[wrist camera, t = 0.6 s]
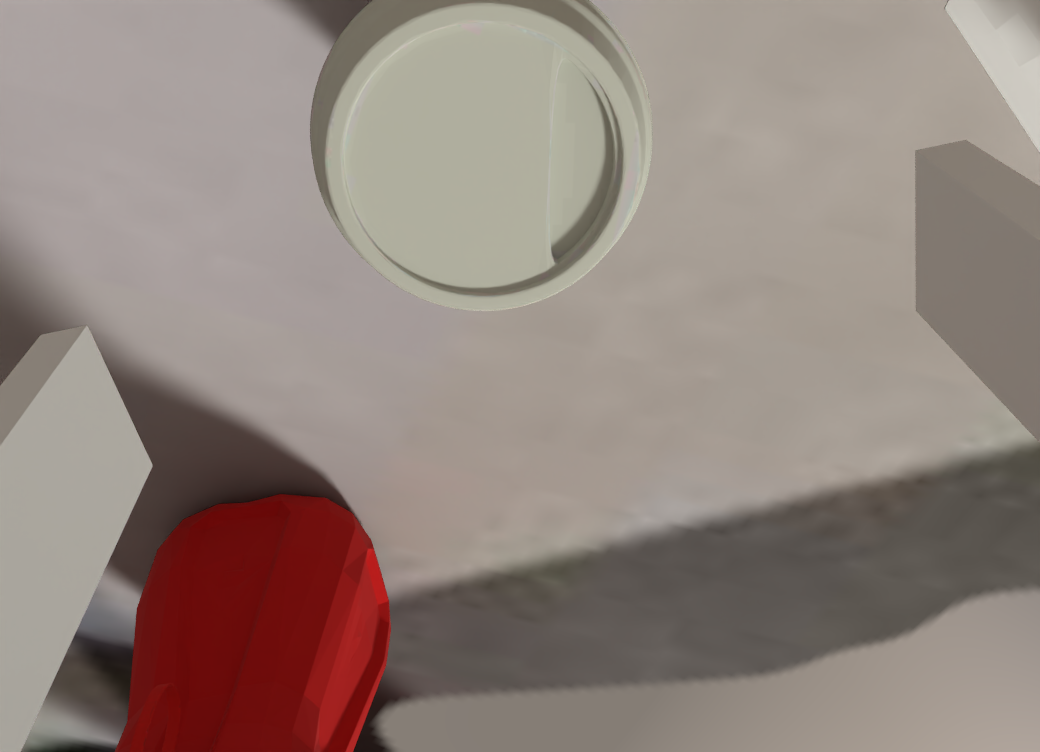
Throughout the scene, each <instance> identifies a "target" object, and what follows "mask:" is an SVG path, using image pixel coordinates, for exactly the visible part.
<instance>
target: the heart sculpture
mask: <svg viewBox="0 0 1040 752" xmlns="http://www.w3.org/2000/svg"><path fill="white" fill-rule="evenodd" d="M945 9H946V11H947V13H948V14H949V16H950V17H951V19H952V20H953V22H954V23H955V25H956V26H957V28H958V29H959V31H960V32H961V34H962V35H963V37H964V38H965V40H966V41H967V43H968V44H969V46H970V48H971V49H972V51H973V52H974V54H975V55H976V57H977V58H978V60H979V61H980V63H981V64H982V66H983V67H984V69H985V70H986V72H987V73H988V75H989V76H990V78H991V79H992V81H993V82H994V84H995V86H996V87H997V89H998V90H999V92H1000V93H1001V95H1002V96H1003V98H1004V99H1005V101H1006V102H1007V104H1008V105H1009V107H1010V108H1011V110H1012V111H1013V113H1014V114H1015V116H1016V117H1017V119H1018V120H1019V122H1020V124H1021V125H1022V127H1023V128H1024V130H1025V131H1026V133H1027V134H1028V136H1029V137H1030V139H1031V140H1032V142H1033V143H1034V145H1035V146H1036V148H1037V149H1038V151H1039V152H1040V0H949V1H948V3H947V5H946V7H945Z"/></svg>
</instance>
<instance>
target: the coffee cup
mask: <svg viewBox="0 0 1040 752" xmlns="http://www.w3.org/2000/svg"><path fill="white" fill-rule="evenodd" d="M310 140H311V151H312V158H313V164H314V170H315V174H316V179H317V182H318V186H319V189H320V192H321V195H322V197H323V200H324V203H325V205H326V207H327V209H328V211H329V213H330V215H331V217H332V219H333V221H334V222H335V224H336V226H337V227H338V229H339V230H340V232H341V233H342V235H343V236H344V237H345V239H346V240H347V241H348V243H349V244H350V245H351V246H352V247H353V249H354V250H355V251H356V252H357V253H358V254H359V255H360V256H361V257H362V258H363V259H364V260H365V261H366V262H367V263H368V264H370V265H371V266H372V267H373V268H374V269H375V270H376V271H377V272H379V273H380V274H381V275H382V276H384V277H385V278H386V279H387V280H389V281H390V282H392V283H393V284H395V285H396V286H398V287H399V288H401V289H402V290H404V291H406V292H408V293H410V294H413V295H415V296H417V297H419V298H421V299H423V300H426V301H429V302H432V303H435V304H438V305H441V306H446V307H451V308H455V309H461V310H474V311H495V310H504V309H511V308H517V307H521V306H524V305H528V304H532V303H535V302H538V301H540V300H543V299H546V298H548V297H550V296H552V295H554V294H556V293H559V292H560V291H562V290H564V289H565V288H567V287H569V286H570V285H572V284H573V283H575V282H576V281H578V280H579V279H580V278H582V277H583V276H584V275H585V274H586V273H588V272H589V271H590V270H591V269H592V268H593V267H594V266H595V265H597V264H598V262H599V261H600V260H601V259H602V258H603V257H604V256H605V255H606V254H607V253H608V251H609V250H610V249H611V248H612V247H613V246H614V244H615V243H616V242H617V241H618V239H619V238H620V237H621V235H622V234H623V232H624V231H625V229H626V228H627V226H628V224H629V223H630V221H631V219H632V217H633V216H634V214H635V212H636V210H637V207H638V205H639V202H640V200H641V198H642V195H643V192H644V189H645V186H646V182H647V178H648V173H649V168H650V162H651V153H652V115H651V107H650V101H649V96H648V92H647V88H646V84H645V81H644V78H643V75H642V73H641V70H640V68H639V65H638V63H637V61H636V59H635V57H634V55H633V53H632V51H631V49H630V47H629V46H628V44H627V42H626V41H625V39H624V38H623V36H622V35H621V34H620V32H619V31H618V30H617V28H616V27H615V26H614V25H613V23H612V22H611V21H610V20H609V19H608V18H607V17H606V16H605V15H604V14H603V13H602V12H601V11H600V10H599V9H598V8H597V7H596V6H595V5H594V4H593V3H592V2H590V1H589V0H372V1H371V2H370V3H369V4H368V5H366V6H365V7H364V8H363V9H362V10H361V11H360V12H359V13H358V14H357V15H356V16H355V17H354V18H353V19H352V21H351V22H350V23H349V24H348V25H347V27H346V28H345V29H344V30H343V32H342V33H341V35H340V36H339V38H338V39H337V41H336V42H335V44H334V45H333V47H332V49H331V51H330V53H329V55H328V56H327V59H326V61H325V63H324V65H323V68H322V70H321V73H320V76H319V79H318V82H317V85H316V89H315V93H314V98H313V103H312V110H311V121H310Z"/></svg>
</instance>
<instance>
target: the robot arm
mask: <svg viewBox="0 0 1040 752" xmlns="http://www.w3.org/2000/svg"><path fill="white" fill-rule="evenodd" d="M915 189H916V311H917V312H918V313H919V314H920V316H921V317H922V318H923V319H924V320H925V321H926V322H927V323H928V324H929V325H930V326H931V327H932V328H933V329H934V330H935V332H936V333H937V334H938V335H939V336H940V337H941V338H942V339H943V340H944V341H945V342H946V343H947V344H948V345H949V346H950V348H951V349H952V350H953V351H954V352H955V353H956V354H957V355H958V356H959V357H960V358H961V359H962V360H963V361H964V362H965V364H966V365H967V366H968V367H969V368H970V369H971V370H972V371H973V372H974V373H975V374H976V375H977V376H978V377H979V378H980V380H981V381H982V382H983V383H984V384H985V385H986V386H987V387H988V388H989V389H990V390H991V391H992V392H993V393H994V394H995V395H996V397H997V398H998V399H999V400H1000V401H1001V402H1002V403H1003V404H1004V405H1005V406H1006V407H1007V408H1008V409H1009V410H1010V411H1011V413H1012V414H1013V415H1014V416H1015V417H1016V418H1017V419H1018V420H1019V421H1020V422H1021V423H1022V424H1023V425H1024V426H1025V427H1026V429H1027V430H1028V431H1029V432H1030V433H1031V434H1032V435H1033V436H1034V437H1035V438H1036V439H1037V440H1038V441H1039V442H1040V186H1038V185H1037V184H1035V183H1033V182H1032V181H1030V180H1029V179H1027V178H1025V177H1024V176H1022V175H1021V174H1019V173H1018V172H1016V171H1014V170H1013V169H1011V168H1010V167H1008V166H1006V165H1005V164H1003V163H1002V162H1000V161H998V160H997V159H995V158H994V157H992V156H991V155H989V154H987V153H986V152H984V151H983V150H981V149H979V148H978V147H976V146H975V145H973V144H971V143H970V142H968V141H967V140H963V141H958V142H953V143H949V144H944V145H939V146H934V147H930V148H925V149H920V150H915ZM152 466H153V465H152V463H151V461H150V458H149V456H148V454H147V452H146V450H145V448H144V446H143V443H142V441H141V439H140V437H139V435H138V433H137V431H136V428H135V426H134V424H133V422H132V420H131V418H130V416H129V413H128V411H127V409H126V407H125V405H124V403H123V401H122V399H121V396H120V394H119V392H118V390H117V388H116V386H115V384H114V381H113V379H112V377H111V375H110V373H109V371H108V369H107V366H106V364H105V362H104V360H103V358H102V356H101V354H100V351H99V349H98V347H97V345H96V343H95V341H94V339H93V336H92V334H91V332H90V330H89V328H88V326H87V325H85V326H80V327H75V328H71V329H66V330H61V331H56V332H52V333H47V334H42V335H40V336H39V338H38V339H37V340H36V341H35V343H34V344H33V345H32V346H31V348H30V349H29V350H28V352H27V353H26V354H25V355H24V357H23V358H22V359H21V360H20V362H19V363H18V364H17V365H16V367H15V368H14V369H13V370H12V372H11V373H10V374H9V375H8V377H7V378H6V379H5V380H4V382H3V383H2V384H1V385H0V752H21V750H22V748H23V746H24V743H25V741H26V739H27V737H28V735H29V733H30V730H31V728H32V726H33V724H34V722H35V720H36V717H37V715H38V713H39V711H40V709H41V707H42V704H43V702H44V700H45V698H46V696H47V694H48V691H49V689H50V687H51V685H52V683H53V681H54V678H55V676H56V674H57V672H58V670H59V668H60V665H61V663H62V661H63V659H64V657H65V655H66V653H67V650H68V648H69V646H70V644H71V642H72V640H73V637H74V635H75V633H76V631H77V629H78V627H79V624H80V622H81V620H82V618H83V616H84V614H85V611H86V609H87V607H88V605H89V603H90V601H91V598H92V596H93V594H94V592H95V590H96V588H97V585H98V583H99V581H100V579H101V577H102V575H103V572H104V570H105V568H106V566H107V564H108V562H109V559H110V557H111V555H112V553H113V551H114V549H115V547H116V544H117V542H118V540H119V538H120V536H121V534H122V531H123V529H124V527H125V525H126V523H127V521H128V518H129V516H130V514H131V512H132V510H133V508H134V505H135V503H136V501H137V499H138V497H139V495H140V492H141V490H142V488H143V486H144V484H145V482H146V479H147V477H148V475H149V473H150V471H151V469H152Z"/></svg>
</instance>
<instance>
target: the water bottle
mask: <svg viewBox="0 0 1040 752" xmlns="http://www.w3.org/2000/svg"><path fill="white" fill-rule="evenodd" d="M390 632H391V625H390V610H389V600H388V596H387V592H386V589H385V585H384V582H383V578H382V574H381V571H380V567H379V564H378V561H377V557H376V554H375V551H374V548H373V544H372V541H371V539H370V538H369V536H368V535H367V533H366V532H365V531H364V529H363V528H362V526H361V525H360V523H359V522H358V521H357V519H356V518H355V516H354V515H353V513H351V512H349V511H348V510H346V509H344V508H342V507H341V506H339V505H337V504H336V503H334V502H332V501H330V500H329V499H327V498H322V497H310V496H297V495H285V494H278V495H275V496H271V497H267V498H263V499H259V500H255V501H251V502H248V503H228V504H217V505H215V506H213V507H210V508H208V509H206V510H203V511H201V512H199V513H197V514H194V515H192V516H190V517H187V518H185V519H183V520H182V521H181V523H180V524H179V525H178V526H177V527H176V528H175V529H174V530H173V531H172V533H171V534H170V535H169V536H168V538H167V539H166V540H165V541H164V543H163V544H162V545H161V546H160V548H159V549H158V550H157V553H156V556H155V559H154V562H153V564H152V567H151V570H150V573H149V576H148V579H147V581H146V584H145V587H144V590H143V593H142V596H141V598H140V601H139V604H138V607H137V614H136V626H135V638H134V650H133V662H132V673H131V685H130V697H129V709H128V721H127V724H126V726H125V729H124V731H123V733H122V736H121V738H120V741H119V743H118V745H117V748H116V750H115V752H353V751H354V748H355V745H356V743H357V740H358V737H359V735H360V732H361V730H362V727H363V724H364V722H365V719H366V716H367V714H368V711H369V709H370V706H371V703H372V701H373V698H374V695H375V693H376V690H377V688H378V685H379V682H380V680H381V677H382V675H383V672H384V669H385V667H386V662H387V655H388V647H389V640H390Z"/></svg>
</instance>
